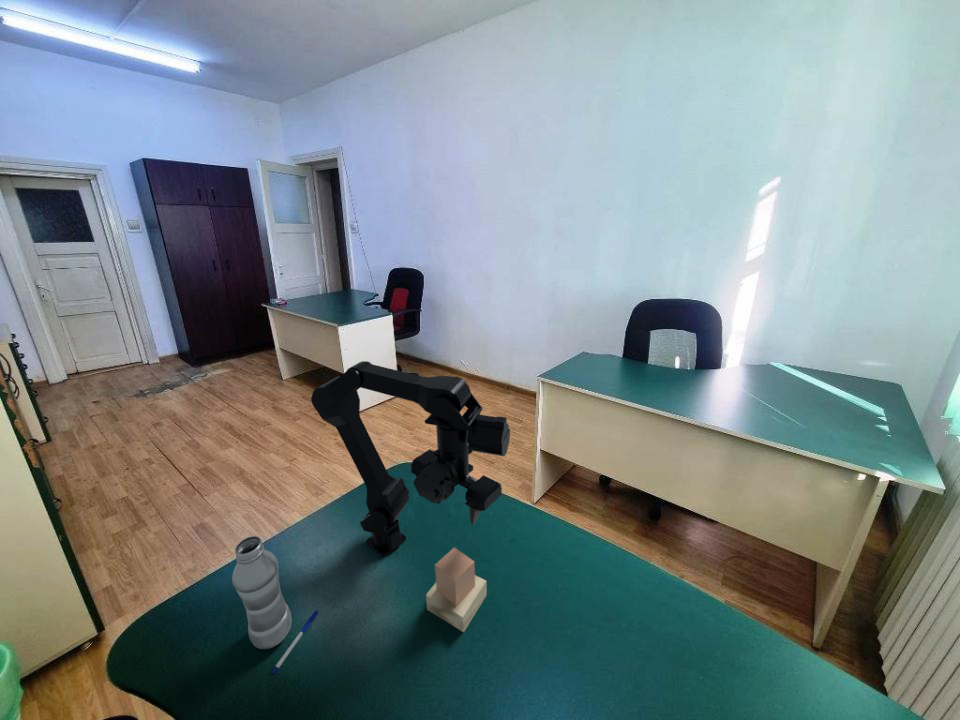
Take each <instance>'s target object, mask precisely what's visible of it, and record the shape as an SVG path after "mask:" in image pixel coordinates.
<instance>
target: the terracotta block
mask: <svg viewBox="0 0 960 720" xmlns="http://www.w3.org/2000/svg"><path fill="white" fill-rule="evenodd" d="M434 572H435V574H434V576H435V583H436V589H437V591H439V592H440V593H441V594H442V595H443V596H445V597H446V598H447V599H448V600H449V601H451V602H452V603H453V604H454V605H455V606H457V605H458V604H459V603H460V602H461V601H462V600H463V599H464V598H465V597H466V595H467V594H468V593H469V592H470V591H471V590H472V589H473V588H474V587H475V575H476V570H475V560H473V559H471V558H470V557H469V556H467V555H466V554H465V553H464V552H462V551H460V550H459V549H457V548H456V547H455V546H454V547H453V548H451V550H449V552H447V553H446V554H445V555H443V557H442V558H441V559H440V560H438V561H437V563H435V564H434Z"/></svg>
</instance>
